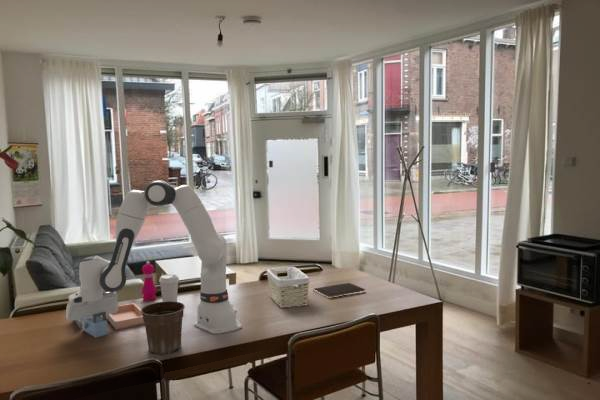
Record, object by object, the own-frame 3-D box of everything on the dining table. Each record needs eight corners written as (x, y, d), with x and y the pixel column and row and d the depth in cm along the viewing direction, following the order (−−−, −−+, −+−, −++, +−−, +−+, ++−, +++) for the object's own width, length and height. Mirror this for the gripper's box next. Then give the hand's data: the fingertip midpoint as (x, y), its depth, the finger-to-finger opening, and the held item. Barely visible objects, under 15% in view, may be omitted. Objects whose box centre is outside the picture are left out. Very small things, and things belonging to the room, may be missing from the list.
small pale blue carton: (107, 334, 202) (106, 312, 201) (95, 337, 198) (94, 315, 197) (95, 327, 210) (93, 305, 209) (83, 330, 206) (82, 308, 205)
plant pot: (144, 360, 176) (142, 317, 175) (140, 344, 191) (138, 304, 189) (189, 352, 183) (188, 311, 181) (182, 337, 197) (180, 299, 196)
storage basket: (310, 306, 236) (310, 276, 235) (278, 310, 231) (278, 280, 229) (295, 293, 259) (295, 266, 257) (266, 296, 254) (265, 268, 252)
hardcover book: (365, 293, 258) (365, 289, 258) (328, 300, 247) (328, 295, 247) (348, 286, 272) (348, 282, 272) (313, 292, 261) (313, 288, 261)
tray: (148, 323, 214) (147, 315, 214) (115, 329, 206) (115, 321, 206) (134, 309, 232) (134, 302, 232) (103, 315, 225) (103, 308, 224)
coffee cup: (168, 310, 231) (167, 279, 230) (155, 306, 237) (154, 276, 235) (183, 305, 239) (183, 275, 237) (171, 301, 245) (170, 272, 243)
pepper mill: (152, 301, 245) (150, 263, 243) (139, 300, 246) (137, 262, 244) (159, 297, 252) (157, 259, 250) (146, 296, 253) (145, 259, 251)
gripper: (115, 288, 212) (117, 319, 213) (64, 296, 200) (66, 329, 202) (119, 292, 206) (120, 323, 208) (66, 300, 195) (68, 333, 196)
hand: (93, 326), depth 205 cm, fingers closed on small pale blue carton, 5 cm apart
